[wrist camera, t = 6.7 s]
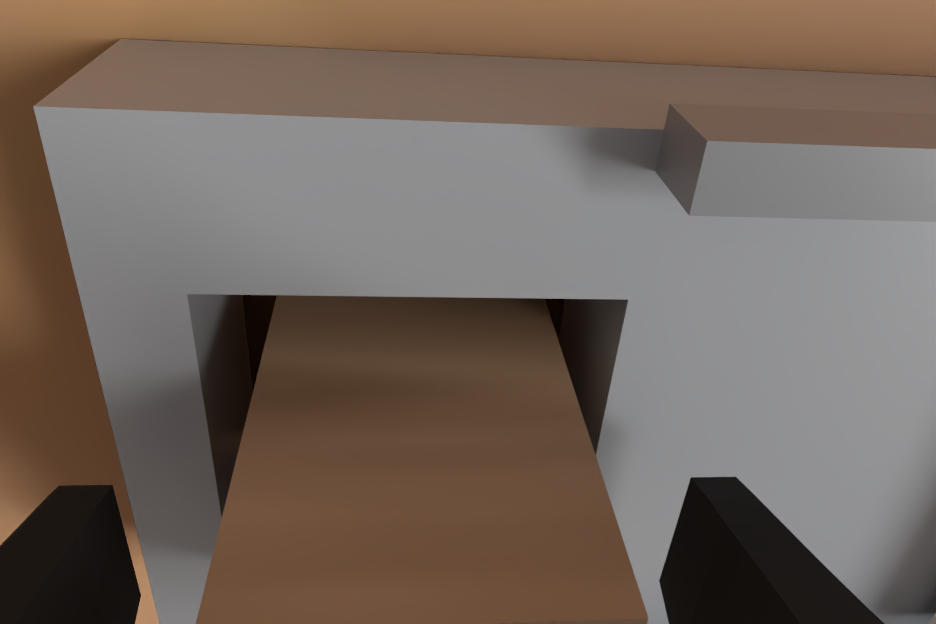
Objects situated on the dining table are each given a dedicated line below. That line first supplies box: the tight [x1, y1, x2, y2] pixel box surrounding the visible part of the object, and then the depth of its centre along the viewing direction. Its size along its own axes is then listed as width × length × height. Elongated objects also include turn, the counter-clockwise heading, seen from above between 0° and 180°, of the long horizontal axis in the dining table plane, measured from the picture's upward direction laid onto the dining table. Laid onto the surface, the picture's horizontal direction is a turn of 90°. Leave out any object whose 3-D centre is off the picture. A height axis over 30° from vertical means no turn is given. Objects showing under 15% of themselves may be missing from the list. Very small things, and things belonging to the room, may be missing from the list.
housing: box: [33, 39, 936, 624], centre depth 12 cm, size 11×16×4 cm, turn 86°
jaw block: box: [196, 295, 649, 624], centre depth 10 cm, size 4×4×8 cm
